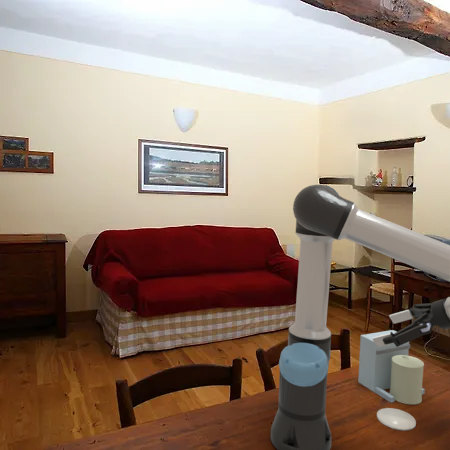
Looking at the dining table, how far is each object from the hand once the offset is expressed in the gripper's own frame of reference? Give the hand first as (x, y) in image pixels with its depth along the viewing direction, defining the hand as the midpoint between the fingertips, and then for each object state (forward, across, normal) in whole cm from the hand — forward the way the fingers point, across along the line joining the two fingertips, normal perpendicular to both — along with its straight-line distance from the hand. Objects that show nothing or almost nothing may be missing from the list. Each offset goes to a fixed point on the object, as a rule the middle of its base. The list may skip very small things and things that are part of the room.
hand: (383, 330), depth 123 cm
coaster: (+3, -13, -20) cm, 24 cm away
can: (+7, +1, -23) cm, 24 cm away
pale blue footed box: (+12, +4, -20) cm, 24 cm away
